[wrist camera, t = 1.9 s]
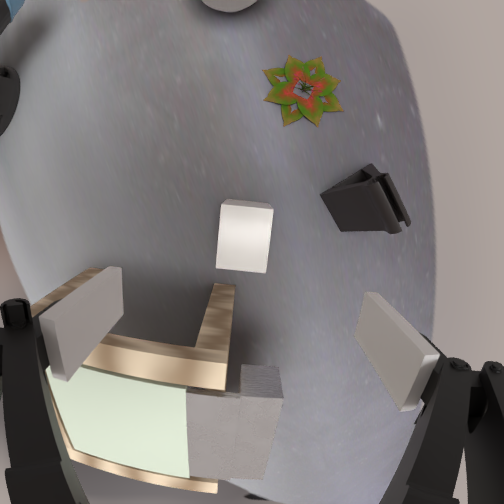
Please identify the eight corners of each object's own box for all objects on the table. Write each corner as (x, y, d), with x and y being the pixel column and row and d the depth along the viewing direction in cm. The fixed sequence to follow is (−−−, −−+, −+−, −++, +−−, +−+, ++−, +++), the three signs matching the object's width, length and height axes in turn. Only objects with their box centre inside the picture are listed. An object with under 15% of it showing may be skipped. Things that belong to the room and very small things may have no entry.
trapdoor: (279, 362, 31) (284, 398, 25) (260, 451, 34) (262, 484, 29) (66, 330, 30) (41, 355, 24) (89, 422, 33) (74, 448, 28)
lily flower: (276, 140, 39) (279, 136, 34) (247, 65, 36) (248, 53, 32) (354, 120, 38) (366, 114, 34) (326, 48, 35) (334, 35, 31)
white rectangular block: (222, 249, 42) (215, 268, 33) (227, 198, 40) (221, 204, 31) (262, 253, 42) (265, 273, 33) (268, 203, 40) (273, 209, 31)
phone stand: (370, 163, 39) (412, 160, 27) (389, 199, 40) (434, 208, 29) (319, 194, 40) (347, 200, 28) (339, 231, 41) (372, 250, 30)
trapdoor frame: (104, 383, 47) (61, 455, 28) (90, 267, 42) (12, 318, 23) (224, 404, 48) (217, 493, 29) (235, 285, 43) (226, 363, 24)
